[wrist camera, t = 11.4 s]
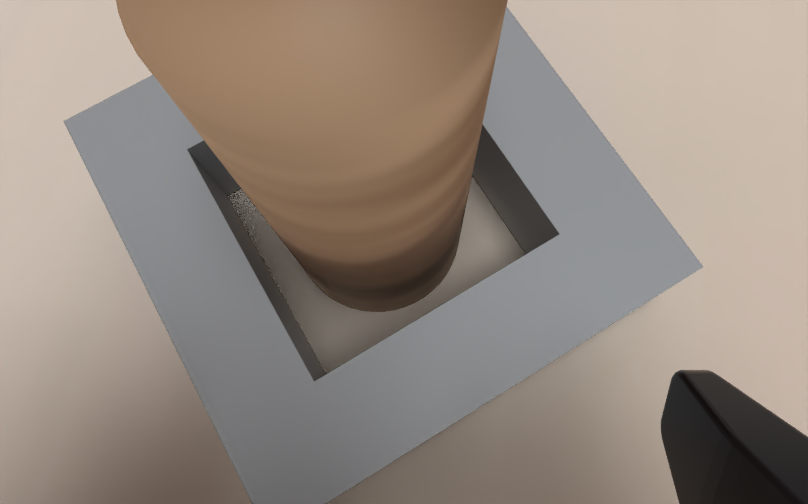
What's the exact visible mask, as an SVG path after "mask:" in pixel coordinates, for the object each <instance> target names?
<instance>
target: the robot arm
mask: <svg viewBox="0 0 808 504" xmlns="http://www.w3.org/2000/svg"><path fill="white" fill-rule="evenodd" d="M661 434H662V440H663V444H664V447H665V451H666V455H667V459H668V462H669V466H670V470H671V474H672V478H673V481H674V485H675V489H676V493H677V496H678V500H679V504H808V437H807V436H806V435H804V434H803V433H801V432H800V431H798V430H797V429H796V428H794V427H793V426H791V425H790V424H788V423H787V422H785V421H784V420H782V419H781V418H780V417H778V416H777V415H775V414H774V413H772V412H771V411H769V410H768V409H766V408H765V407H763V406H762V405H761V404H759V403H758V402H756V401H755V400H753V399H752V398H750V397H749V396H747V395H746V394H745V393H743V392H742V391H740V390H739V389H737V388H736V387H734V386H733V385H731V384H730V383H729V382H727V381H726V380H724V379H723V378H721V377H720V376H718V375H717V374H715V373H713V372H711V371H707V370H680V371H678V372H676V373H675V374H674V375H673V377H672V380H671V383H670V387H669V391H668V395H667V399H666V403H665V407H664V411H663V415H662V419H661Z"/></svg>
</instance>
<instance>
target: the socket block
mask: <svg viewBox="0 0 808 504" xmlns="http://www.w3.org/2000/svg"><path fill="white" fill-rule="evenodd" d="M64 123H65V125H66V127H67V129H68V131H69V133H70V135H71V137H72V139H73V142H74V144H75V146H76V148H77V150H78V152H79V154H80V156H81V158H82V160H83V162H84V164H85V166H86V168H87V170H88V172H89V174H90V176H91V178H92V180H93V182H94V184H95V186H96V188H97V190H98V192H99V194H100V196H101V198H102V200H103V202H104V204H105V206H106V208H107V210H108V212H109V214H110V216H111V218H112V220H113V222H114V225H115V227H116V229H117V231H118V233H119V235H120V237H121V239H122V241H123V243H124V245H125V247H126V249H127V251H128V253H129V255H130V257H131V259H132V261H133V263H134V265H135V267H136V269H137V271H138V273H139V275H140V277H141V279H142V281H143V283H144V285H145V287H146V289H147V291H148V293H149V295H150V297H151V299H152V301H153V303H154V305H155V308H156V310H157V312H158V314H159V316H160V318H161V320H162V322H163V324H164V326H165V328H166V330H167V332H168V334H169V336H170V338H171V340H172V342H173V344H174V346H175V348H176V350H177V352H178V354H179V356H180V358H181V360H182V362H183V364H184V366H185V368H186V370H187V372H188V374H189V376H190V378H191V380H192V382H193V384H194V386H195V389H196V391H197V393H198V395H199V397H200V399H201V401H202V403H203V405H204V407H205V409H206V411H207V413H208V415H209V417H210V419H211V421H212V423H213V425H214V427H215V429H216V431H217V433H218V435H219V437H220V439H221V441H222V443H223V445H224V447H225V449H226V451H227V453H228V455H229V457H230V459H231V461H232V463H233V465H234V467H235V469H236V472H237V474H238V476H239V478H240V480H241V482H242V484H243V486H244V488H245V490H246V492H247V494H248V496H249V498H250V500H251V502H252V504H326V503H328V502H329V501H331V500H332V499H334V498H336V497H337V496H339V495H340V494H342V493H344V492H345V491H347V490H348V489H350V488H351V487H353V486H355V485H356V484H358V483H359V482H361V481H363V480H364V479H366V478H367V477H369V476H371V475H372V474H374V473H375V472H377V471H379V470H380V469H382V468H383V467H385V466H387V465H388V464H390V463H391V462H393V461H395V460H396V459H398V458H399V457H401V456H403V455H404V454H406V453H407V452H409V451H411V450H412V449H414V448H415V447H417V446H418V445H420V444H422V443H423V442H425V441H426V440H428V439H430V438H431V437H433V436H434V435H436V434H438V433H439V432H441V431H442V430H444V429H446V428H447V427H449V426H450V425H452V424H454V423H455V422H457V421H458V420H460V419H462V418H463V417H465V416H466V415H468V414H470V413H471V412H473V411H474V410H476V409H478V408H479V407H481V406H482V405H484V404H485V403H487V402H489V401H490V400H492V399H493V398H495V397H497V396H498V395H500V394H501V393H503V392H505V391H506V390H508V389H509V388H511V387H513V386H514V385H516V384H517V383H519V382H521V381H522V380H524V379H525V378H527V377H529V376H530V375H532V374H533V373H535V372H537V371H538V370H540V369H541V368H543V367H545V366H546V365H548V364H549V363H551V362H552V361H554V360H556V359H557V358H559V357H560V356H562V355H564V354H565V353H567V352H568V351H570V350H572V349H573V348H575V347H576V346H578V345H580V344H581V343H583V342H584V341H586V340H588V339H589V338H591V337H592V336H594V335H596V334H597V333H599V332H600V331H602V330H604V329H605V328H607V327H608V326H610V325H611V324H613V323H615V322H616V321H618V320H619V319H621V318H623V317H624V316H626V315H627V314H629V313H631V312H632V311H634V310H635V309H637V308H639V307H640V306H642V305H643V304H645V303H647V302H648V301H650V300H651V299H653V298H655V297H656V296H658V295H659V294H661V293H663V292H664V291H666V290H667V289H669V288H671V287H672V286H674V285H675V284H677V283H678V282H680V281H682V280H683V279H685V278H686V277H688V276H690V275H691V274H693V273H694V272H696V271H698V270H699V269H701V268H702V267H703V266H702V264H701V263H700V262H699V260H698V259H697V258H696V256H695V255H694V254H693V252H692V251H691V250H690V248H689V247H688V246H687V244H686V243H685V242H684V241H683V239H682V238H681V237H680V235H679V234H678V233H677V231H676V230H675V229H674V227H673V226H672V225H671V223H670V222H669V221H668V219H667V218H666V217H665V215H664V214H663V213H662V211H661V210H660V209H659V207H658V206H657V205H656V203H655V202H654V201H653V200H652V198H651V197H650V196H649V194H648V193H647V192H646V190H645V189H644V188H643V186H642V185H641V184H640V182H639V181H638V180H637V178H636V177H635V176H634V174H633V173H632V172H631V170H630V169H629V168H628V166H627V165H626V164H625V163H624V161H623V160H622V159H621V157H620V156H619V155H618V153H617V152H616V151H615V149H614V148H613V147H612V145H611V144H610V143H609V141H608V140H607V139H606V137H605V136H604V135H603V133H602V132H601V131H600V129H599V128H598V127H597V125H596V124H595V123H594V122H593V120H592V119H591V118H590V116H589V115H588V114H587V112H586V111H585V110H584V108H583V107H582V106H581V104H580V103H579V102H578V100H577V99H576V98H575V96H574V95H573V94H572V92H571V91H570V90H569V88H568V87H567V86H566V85H565V83H564V82H563V81H562V79H561V78H560V77H559V75H558V74H557V73H556V71H555V70H554V69H553V67H552V66H551V65H550V63H549V62H548V61H547V59H546V58H545V57H544V55H543V54H542V53H541V51H540V50H539V49H538V48H537V46H536V45H535V44H534V42H533V41H532V40H531V38H530V37H529V36H528V34H527V33H526V32H525V30H524V29H523V28H522V26H521V25H520V24H519V22H518V21H517V20H516V18H515V17H514V16H513V14H512V13H511V12H510V10H509V9H508V8H507V7H506V10H505V15H504V20H503V25H502V30H501V35H500V40H499V45H498V50H497V55H496V60H495V64H494V69H493V74H492V79H491V84H490V89H489V94H488V99H487V104H486V109H485V114H484V119H483V124H482V129H481V134H480V138H479V143H478V148H477V153H476V158H475V163H474V168H473V173H472V175H473V177H474V178H475V180H476V181H477V183H478V184H479V186H480V187H481V189H482V190H483V191H484V193H485V194H486V196H487V197H488V199H489V200H490V202H491V203H492V205H493V206H494V208H495V209H496V211H497V212H498V214H499V215H500V217H501V218H502V219H503V221H504V222H505V224H506V225H507V227H508V228H509V230H510V231H511V233H512V234H513V236H514V237H515V239H516V240H517V242H518V243H519V245H520V246H521V248H522V249H523V250H524V252H525V253H526V255H524V256H523V257H521V258H519V259H518V260H516V261H514V262H513V263H511V264H509V265H508V266H506V267H504V268H503V269H501V270H499V271H498V272H496V273H494V274H493V275H491V276H489V277H488V278H486V279H484V280H483V281H481V282H479V283H478V284H476V285H474V286H473V287H471V288H469V289H468V290H466V291H464V292H463V293H461V294H459V295H458V296H456V297H454V298H453V299H451V300H449V301H448V302H446V303H444V304H443V305H441V306H439V307H438V308H436V309H434V310H433V311H431V312H429V313H428V314H426V315H424V316H423V317H421V318H419V319H418V320H416V321H414V322H413V323H411V324H409V325H408V326H406V327H404V328H403V329H401V330H399V331H398V332H396V333H394V334H393V335H391V336H389V337H388V338H386V339H384V340H383V341H381V342H379V343H378V344H376V345H374V346H373V347H371V348H369V349H368V350H366V351H364V352H363V353H361V354H359V355H358V356H356V357H354V358H353V359H351V360H349V361H348V362H346V363H344V364H343V365H341V366H339V367H338V368H336V369H334V370H333V371H331V372H329V373H328V374H326V373H325V371H324V370H323V368H322V366H321V364H320V362H319V361H318V359H317V357H316V355H315V353H314V352H313V350H312V348H311V346H310V344H309V343H308V341H307V339H306V337H305V335H304V334H303V332H302V330H301V328H300V326H299V325H298V323H297V321H296V319H295V317H294V316H293V314H292V312H291V310H290V308H289V307H288V305H287V303H286V301H285V299H284V298H283V296H282V294H281V292H280V290H279V288H278V287H277V285H276V283H275V281H274V279H273V278H272V276H271V274H270V272H269V270H268V269H267V267H266V265H265V263H264V261H263V260H262V258H261V256H260V254H259V252H258V251H257V249H256V247H255V245H254V243H253V242H252V240H251V238H250V236H249V234H248V233H247V231H246V229H245V227H244V225H243V224H242V222H241V220H240V218H239V216H238V215H237V213H236V211H235V209H234V207H233V206H232V204H231V202H230V200H229V198H228V197H227V196H228V195H229V194H231V193H233V192H235V191H237V190H238V189H240V188H241V187H240V186H239V185H238V183H237V182H236V181H235V180H234V178H233V177H232V176H231V174H230V173H229V172H228V171H227V169H226V168H225V167H224V165H223V164H222V163H221V162H220V160H219V159H218V158H217V156H216V155H215V154H214V153H213V151H212V150H211V149H210V147H209V146H208V145H207V144H206V142H205V141H204V140H203V138H202V137H201V136H200V135H199V133H198V132H197V131H196V129H195V128H194V127H193V126H192V124H191V123H190V122H189V120H188V119H187V118H186V117H185V115H184V114H183V113H182V111H181V110H180V109H179V108H178V106H177V105H176V104H175V102H174V101H173V100H172V99H171V97H170V96H169V95H168V93H167V92H166V91H165V90H164V88H163V87H162V86H161V84H160V83H159V82H158V81H157V79H156V78H155V77H154V75H152V76H150V77H148V78H146V79H144V80H142V81H140V82H138V83H136V84H134V85H132V86H130V87H128V88H127V89H125V90H123V91H121V92H119V93H117V94H115V95H113V96H111V97H109V98H107V99H105V100H103V101H102V102H100V103H98V104H96V105H94V106H92V107H90V108H88V109H86V110H84V111H82V112H80V113H79V114H77V115H75V116H73V117H71V118H69V119H67V120H65V121H64Z"/></svg>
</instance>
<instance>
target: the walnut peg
mask: <svg viewBox="0 0 808 504" xmlns="http://www.w3.org/2000/svg"><path fill="white" fill-rule="evenodd" d="M116 2H117V8H118V13H119V16H120V18H121V21H122V24H123V27H124V30H125V32H126V35H127V37H128V38H129V40H130V42H131V44H132V46H133V48H134V49H135V51H136V53H137V55H138V56H139V57H140V59H141V60H142V61H143V62H144V64H145V65H146V66H147V68H148V69H149V70H150V72H151V73H152V74H153V75H154V77H155V78H156V79H157V81H158V82H159V83H160V84H161V86H162V87H163V88H164V90H165V91H166V92H167V93H168V95H169V96H170V97H171V99H172V100H173V101H174V102H175V104H176V105H177V106H178V108H179V109H180V110H181V111H182V113H183V114H184V115H185V117H186V118H187V119H188V120H189V122H190V123H191V124H192V126H193V127H194V128H195V129H196V131H197V132H198V133H199V135H200V136H201V137H202V138H203V140H204V141H205V142H206V144H207V145H208V146H209V147H210V149H211V150H212V151H213V153H214V154H215V155H216V156H217V158H218V159H219V160H220V162H221V163H222V164H223V165H224V167H225V168H226V169H227V171H228V172H229V173H230V174H231V176H232V177H233V178H234V180H235V181H236V182H237V183H238V185H239V186H240V187H241V189H242V190H243V191H244V192H245V194H246V195H247V196H248V198H249V199H250V200H251V201H252V203H253V204H254V205H255V207H256V208H257V209H258V210H259V212H260V213H261V214H262V216H263V217H264V218H265V219H266V221H267V222H268V223H269V225H270V226H271V227H272V228H273V230H274V231H275V232H276V234H277V235H278V236H279V237H280V239H281V240H282V241H283V243H284V244H285V245H286V246H287V248H288V249H289V250H290V252H291V253H292V254H293V255H294V257H295V258H296V259H297V261H298V262H299V263H300V264H301V266H302V267H303V268H304V270H305V271H306V272H307V273H308V275H309V276H310V277H311V279H312V280H313V281H314V282H315V284H316V285H317V286H318V287H319V288H320V289H321V290H322V291H323V292H324V293H325V294H327V295H328V296H329V297H331V298H332V299H334V300H335V301H337V302H339V303H341V304H343V305H346V306H348V307H351V308H354V309H358V310H362V311H371V312H384V311H391V310H396V309H400V308H403V307H406V306H408V305H411V304H413V303H415V302H417V301H419V300H420V299H422V298H424V297H425V296H426V295H428V294H429V293H430V292H432V291H433V290H434V289H435V288H436V287H437V286H438V285H439V284H440V283H441V281H442V280H443V278H444V277H445V276H446V274H447V273H448V271H449V269H450V267H451V265H452V263H453V260H454V258H455V255H456V251H457V247H458V242H459V237H460V232H461V227H462V222H463V217H464V212H465V208H466V203H467V198H468V193H469V188H470V183H471V178H472V173H473V168H474V163H475V158H476V153H477V148H478V143H479V138H480V134H481V129H482V124H483V119H484V114H485V109H486V104H487V99H488V94H489V89H490V84H491V79H492V74H493V69H494V64H495V60H496V55H497V50H498V45H499V40H500V35H501V30H502V25H503V20H504V15H505V10H506V5H507V0H116Z"/></svg>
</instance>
